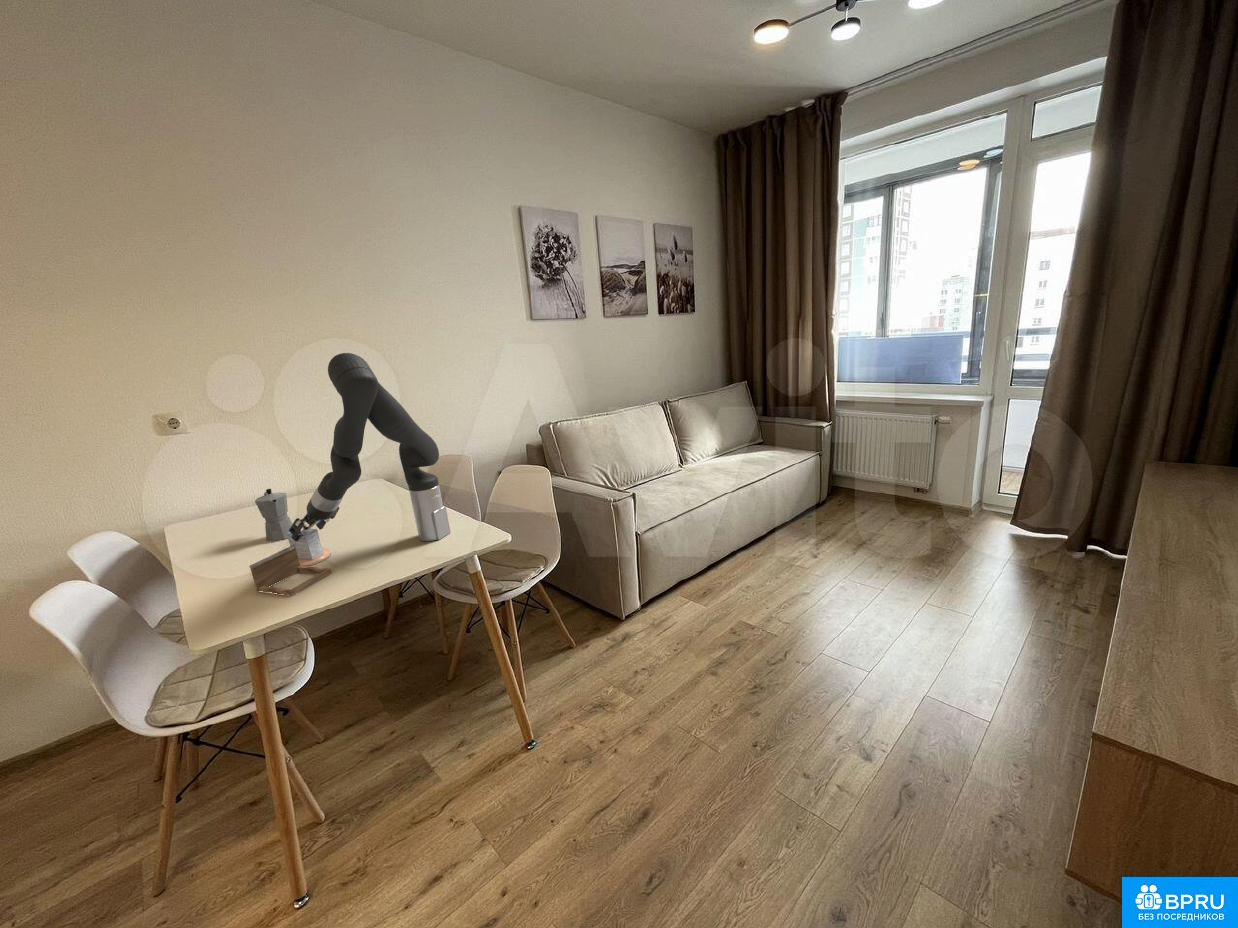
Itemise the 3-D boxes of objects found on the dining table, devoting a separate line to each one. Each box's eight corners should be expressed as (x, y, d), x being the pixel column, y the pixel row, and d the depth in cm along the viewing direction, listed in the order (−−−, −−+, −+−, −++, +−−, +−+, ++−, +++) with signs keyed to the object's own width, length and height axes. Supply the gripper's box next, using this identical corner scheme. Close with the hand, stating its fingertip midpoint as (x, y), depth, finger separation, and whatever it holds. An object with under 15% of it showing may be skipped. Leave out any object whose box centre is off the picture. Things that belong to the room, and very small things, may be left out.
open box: (332, 573, 147) (325, 547, 145) (291, 596, 136) (283, 568, 134) (299, 569, 152) (292, 544, 150) (257, 591, 140) (248, 565, 138)
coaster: (339, 552, 162) (339, 549, 162) (306, 569, 151) (306, 566, 151) (311, 549, 166) (311, 546, 166) (277, 566, 155) (277, 563, 155)
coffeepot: (301, 536, 179) (288, 488, 174) (270, 545, 173) (255, 496, 168) (291, 526, 190) (278, 481, 185) (261, 535, 184) (247, 488, 179)
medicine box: (324, 554, 159) (317, 528, 157) (312, 560, 155) (305, 534, 153) (305, 552, 162) (298, 527, 159) (293, 559, 158) (286, 533, 155)
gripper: (313, 519, 143) (294, 552, 151) (353, 500, 156) (334, 531, 164) (294, 501, 144) (277, 534, 151) (336, 483, 156) (318, 515, 164)
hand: (307, 533), depth 157 cm, fingers open, 8 cm apart
